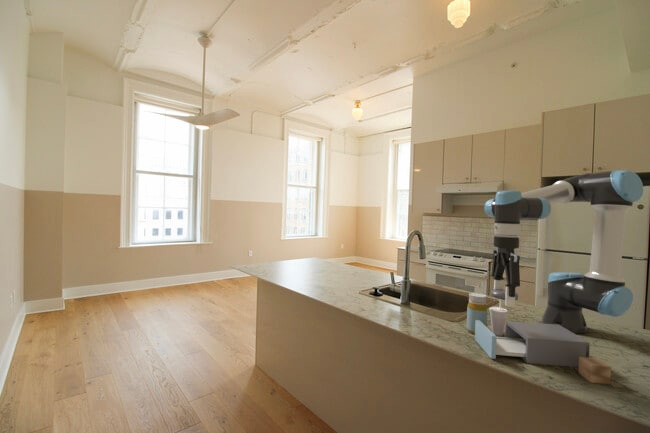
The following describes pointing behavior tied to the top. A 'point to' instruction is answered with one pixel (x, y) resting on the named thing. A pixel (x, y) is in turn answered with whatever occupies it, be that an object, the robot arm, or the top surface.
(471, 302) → the bottle
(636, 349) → the top surface
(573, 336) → the housing
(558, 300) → the robot arm
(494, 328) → the smoothie
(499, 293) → the disc
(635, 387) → the top surface
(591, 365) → the block
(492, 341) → the light blue drawer
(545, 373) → the top surface
